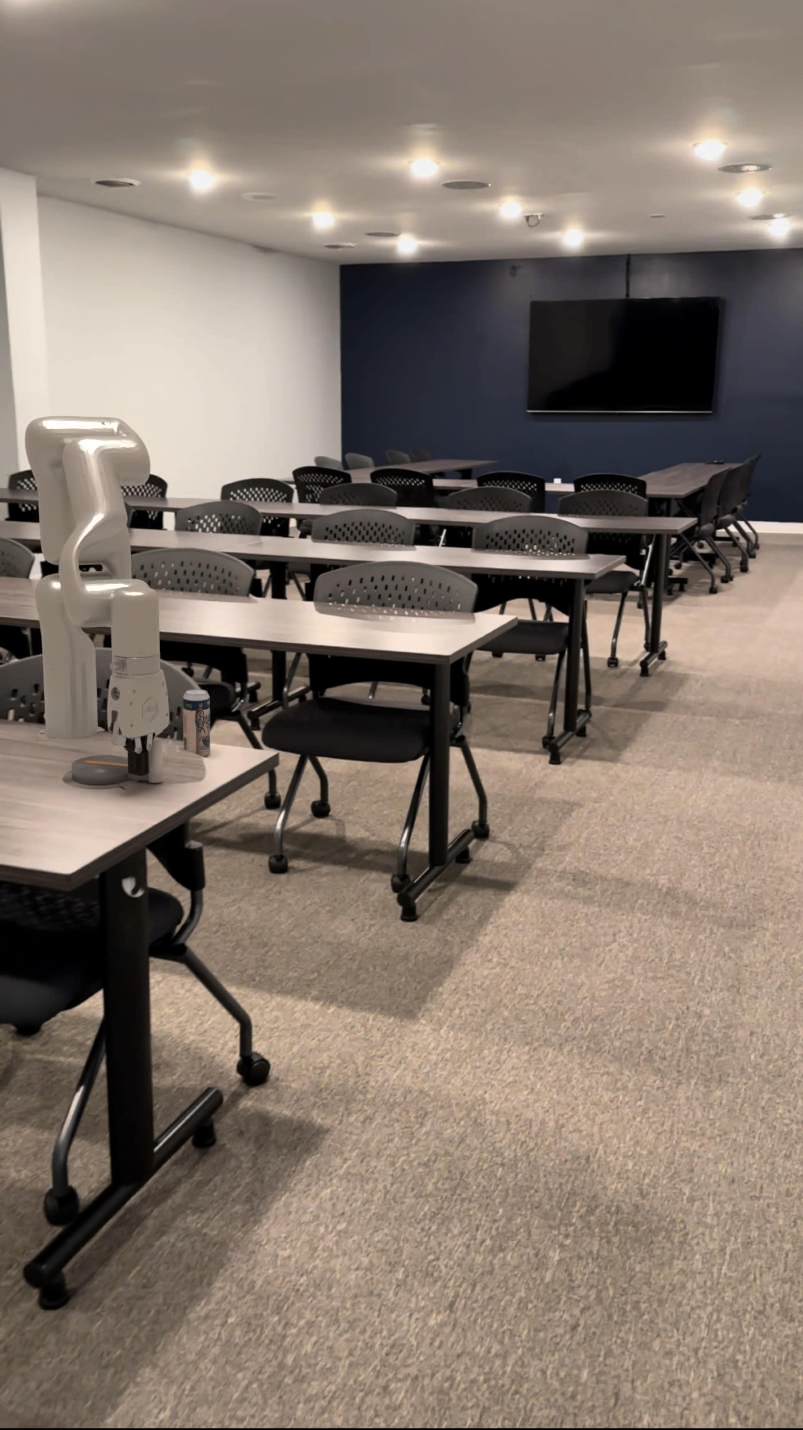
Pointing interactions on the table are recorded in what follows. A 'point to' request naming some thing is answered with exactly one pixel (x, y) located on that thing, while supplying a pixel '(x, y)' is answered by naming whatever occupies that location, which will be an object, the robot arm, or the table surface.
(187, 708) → the beer can
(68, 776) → the board
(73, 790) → the table surface
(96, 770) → the dial
